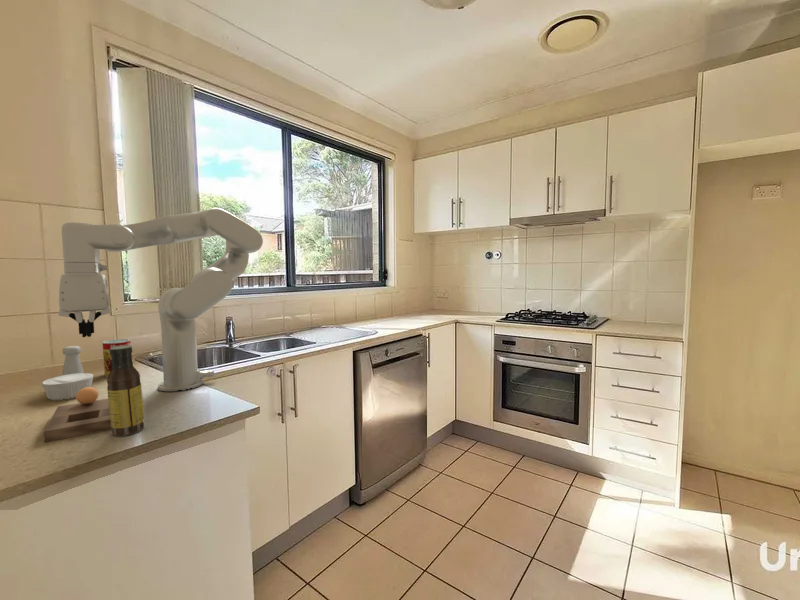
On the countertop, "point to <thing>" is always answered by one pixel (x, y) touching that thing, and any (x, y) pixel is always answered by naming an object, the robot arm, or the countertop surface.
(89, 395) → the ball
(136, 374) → the sauce bottle
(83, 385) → the ramekin
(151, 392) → the countertop surface
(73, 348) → the salt shaker
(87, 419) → the board
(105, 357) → the canned food
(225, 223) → the robot arm
